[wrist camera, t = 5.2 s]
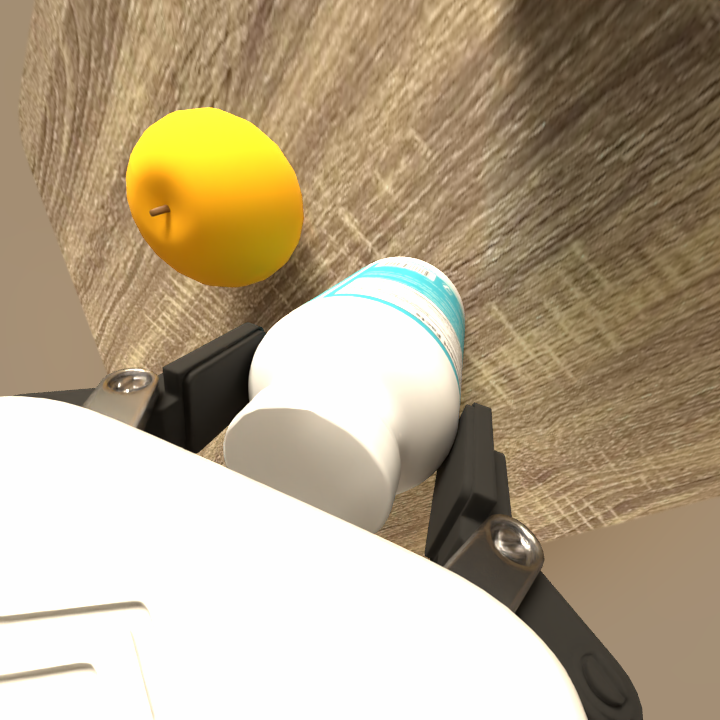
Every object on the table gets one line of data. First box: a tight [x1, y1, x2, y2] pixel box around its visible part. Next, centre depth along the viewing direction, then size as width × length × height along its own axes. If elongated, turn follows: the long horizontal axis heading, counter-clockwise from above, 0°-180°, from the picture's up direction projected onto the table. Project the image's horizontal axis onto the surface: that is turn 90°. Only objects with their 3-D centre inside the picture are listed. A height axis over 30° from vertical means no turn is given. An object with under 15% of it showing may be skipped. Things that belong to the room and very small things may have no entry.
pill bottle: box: [223, 257, 465, 534], centre depth 14 cm, size 8×7×14 cm
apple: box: [126, 108, 304, 287], centre depth 16 cm, size 8×8×8 cm
